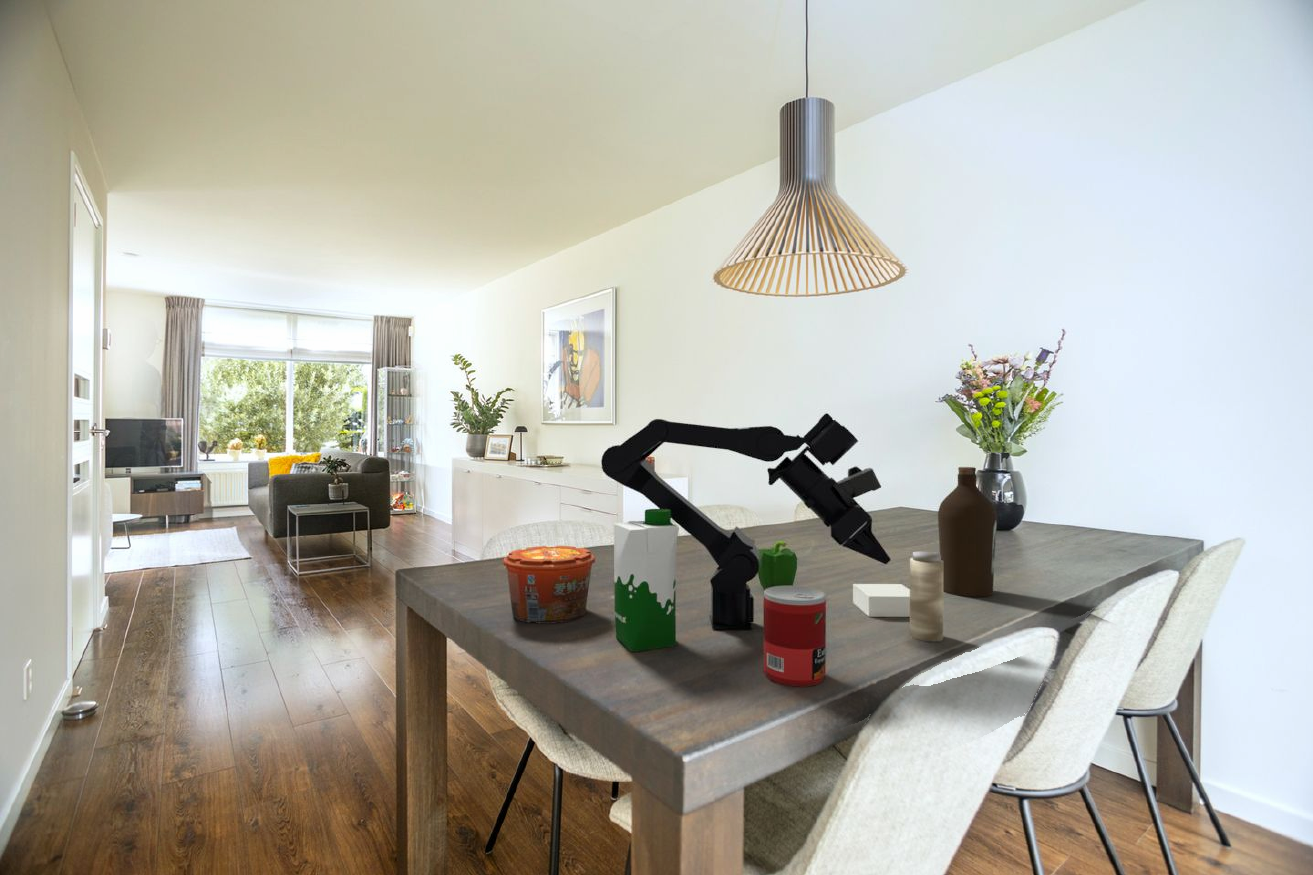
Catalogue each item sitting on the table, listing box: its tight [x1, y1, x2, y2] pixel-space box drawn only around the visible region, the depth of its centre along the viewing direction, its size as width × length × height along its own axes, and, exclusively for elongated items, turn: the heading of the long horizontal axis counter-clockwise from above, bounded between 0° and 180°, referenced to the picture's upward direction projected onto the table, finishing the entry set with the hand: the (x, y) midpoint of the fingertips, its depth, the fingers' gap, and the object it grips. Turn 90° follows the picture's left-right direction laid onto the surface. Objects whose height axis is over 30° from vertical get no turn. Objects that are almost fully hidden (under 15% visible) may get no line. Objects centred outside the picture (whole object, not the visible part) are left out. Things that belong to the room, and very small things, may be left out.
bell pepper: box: [757, 540, 798, 590], centre depth 128 cm, size 8×8×10 cm
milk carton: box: [613, 508, 680, 653], centre depth 95 cm, size 9×9×20 cm
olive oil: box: [937, 466, 998, 598], centre depth 125 cm, size 11×11×25 cm
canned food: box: [763, 585, 827, 688], centre depth 82 cm, size 8×8×11 cm
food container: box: [502, 545, 596, 624], centre depth 110 cm, size 16×16×11 cm
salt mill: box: [909, 550, 944, 643], centre depth 97 cm, size 5×5×13 cm
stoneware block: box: [852, 583, 910, 618], centre depth 112 cm, size 9×9×4 cm
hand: (883, 556), depth 99 cm, fingers open, 9 cm apart
